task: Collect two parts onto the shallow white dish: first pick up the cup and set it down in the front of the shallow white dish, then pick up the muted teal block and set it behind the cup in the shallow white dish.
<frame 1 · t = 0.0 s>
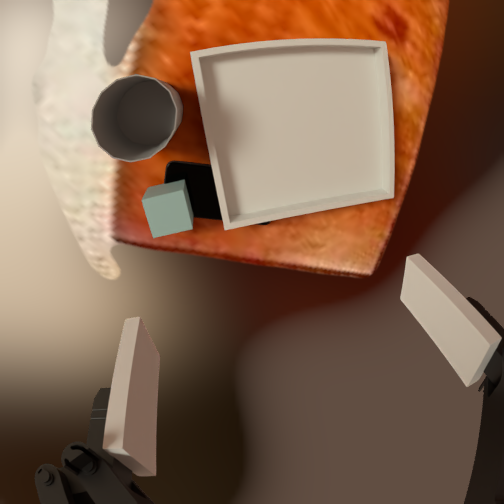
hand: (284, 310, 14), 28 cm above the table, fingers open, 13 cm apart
cup: (150, 112, 33), on the table
shallow white dish: (298, 123, 37), on the table
block: (170, 200, 39), on the table
smartphone: (220, 192, 40), on the table
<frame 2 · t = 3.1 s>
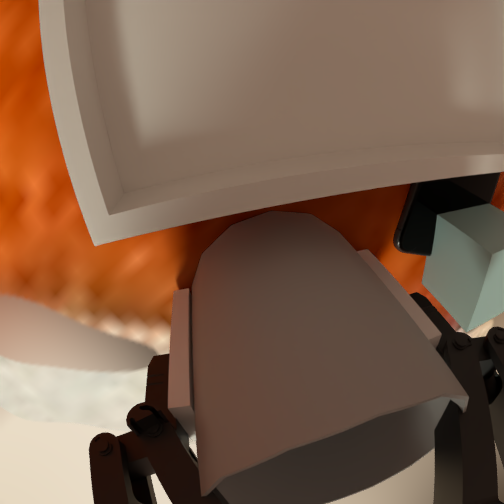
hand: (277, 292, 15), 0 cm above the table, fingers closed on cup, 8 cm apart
cup: (275, 286, 16), on the table, touching gripper
block: (454, 241, 16), on the table
smartphone: (464, 137, 14), on the table
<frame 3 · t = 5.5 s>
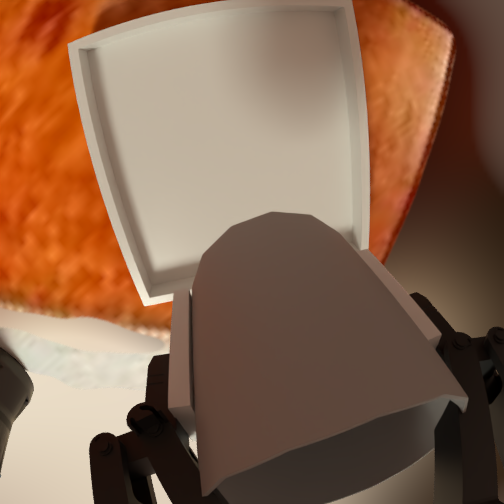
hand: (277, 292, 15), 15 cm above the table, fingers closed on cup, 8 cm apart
cup: (275, 286, 16), point 14 cm above the table, touching gripper
shallow white dish: (231, 143, 25), on the table
when the fingers open (3 cm above the table, at t = 8.4 s): cup stays where it is, resting on shallow white dish.
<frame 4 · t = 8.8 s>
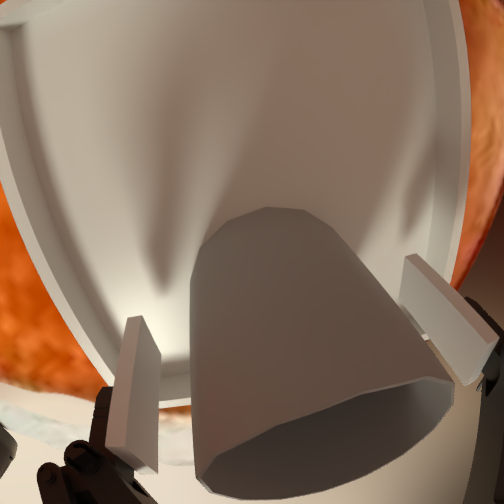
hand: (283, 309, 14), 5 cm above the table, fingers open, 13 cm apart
cup: (270, 280, 16), point 2 cm above the table, touching shallow white dish
shallow white dish: (252, 176, 16), on the table
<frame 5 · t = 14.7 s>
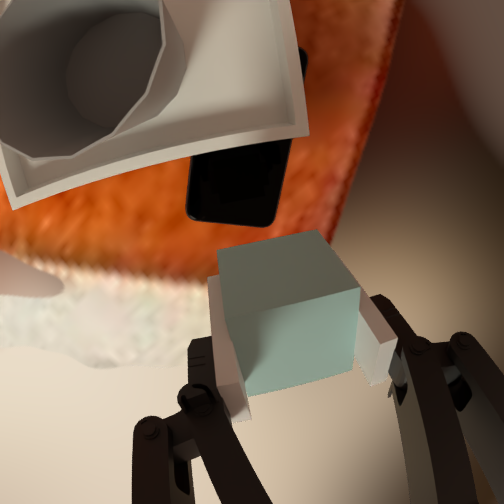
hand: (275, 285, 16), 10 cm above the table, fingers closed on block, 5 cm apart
cup: (124, 69, 16), point 2 cm above the table, touching shallow white dish
shallow white dish: (123, 13, 15), on the table
block: (273, 281, 16), point 10 cm above the table, touching gripper
smartphone: (243, 131, 22), on the table
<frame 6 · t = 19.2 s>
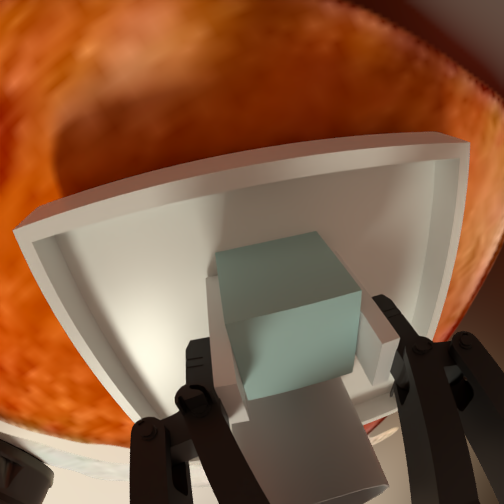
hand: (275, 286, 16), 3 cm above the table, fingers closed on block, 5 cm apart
cup: (283, 388, 21), point 2 cm above the table, touching shallow white dish
shallow white dish: (271, 323, 20), on the table
block: (272, 283, 16), point 2 cm above the table, touching shallow white dish, gripper
when the fingers open (3 cm above the table, at t = 19.3 s): block stays where it is, resting on shallow white dish.
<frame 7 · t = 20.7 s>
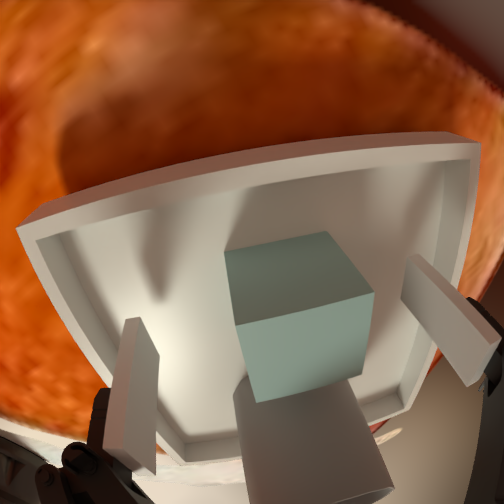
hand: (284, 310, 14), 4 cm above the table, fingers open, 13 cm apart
cup: (289, 389, 21), point 2 cm above the table, touching shallow white dish
shallow white dish: (278, 323, 20), on the table
block: (281, 283, 16), point 2 cm above the table, touching shallow white dish
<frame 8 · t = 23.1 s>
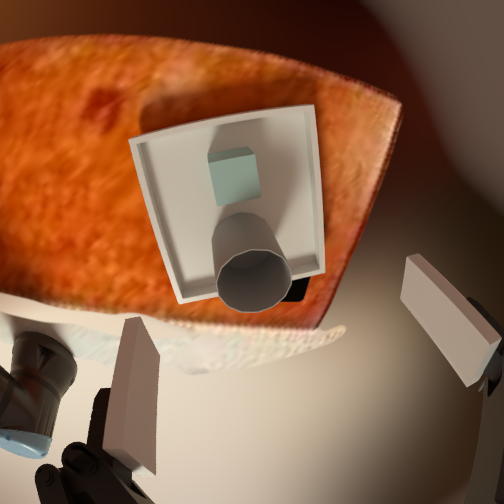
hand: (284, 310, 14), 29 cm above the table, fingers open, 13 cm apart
cup: (242, 240, 42), point 2 cm above the table, touching shallow white dish
shallow white dish: (234, 200, 41), on the table
block: (231, 169, 37), point 2 cm above the table, touching shallow white dish
smartphone: (291, 260, 48), on the table
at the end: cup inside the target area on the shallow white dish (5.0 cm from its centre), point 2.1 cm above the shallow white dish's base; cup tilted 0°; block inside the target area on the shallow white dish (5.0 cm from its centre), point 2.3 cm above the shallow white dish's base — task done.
